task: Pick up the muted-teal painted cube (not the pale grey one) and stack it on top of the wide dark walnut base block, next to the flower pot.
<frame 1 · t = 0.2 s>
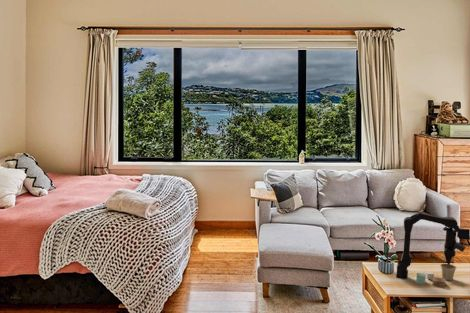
hand: (448, 261, 273), 14 cm above the table, fingers open, 9 cm apart
teal block: (420, 282, 276), on the table
flower pot: (447, 279, 282), on the table
walnut base block: (438, 284, 273), on the table
grey block: (429, 278, 282), on the table
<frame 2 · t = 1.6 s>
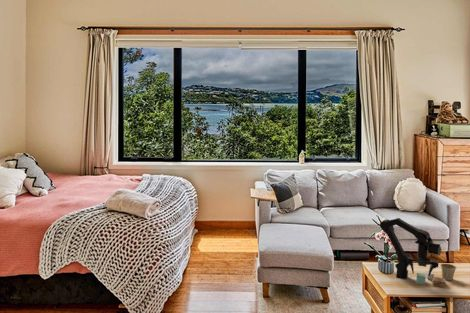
hand: (420, 274, 275), 5 cm above the table, fingers open, 9 cm apart
nothing on the table moved.
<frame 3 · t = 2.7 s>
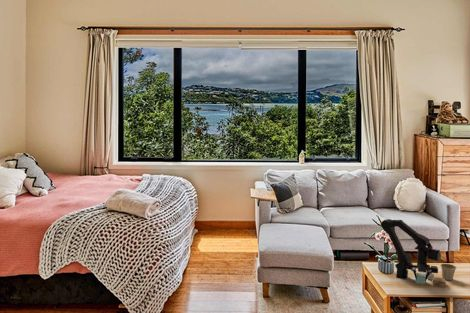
hand: (420, 280, 275), 1 cm above the table, fingers closed on teal block, 5 cm apart
teal block: (420, 282, 276), on the table, touching gripper
everything else where it was.
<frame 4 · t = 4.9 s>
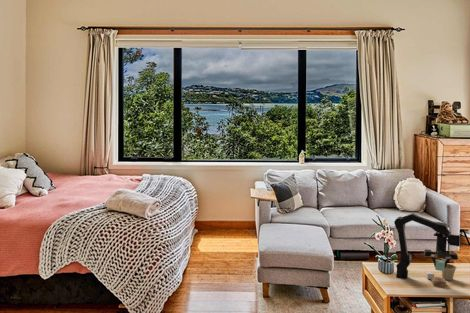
hand: (439, 267, 271), 11 cm above the table, fingers closed on teal block, 5 cm apart
teal block: (439, 269, 271), point 10 cm above the table, touching gripper
everything else where it was.
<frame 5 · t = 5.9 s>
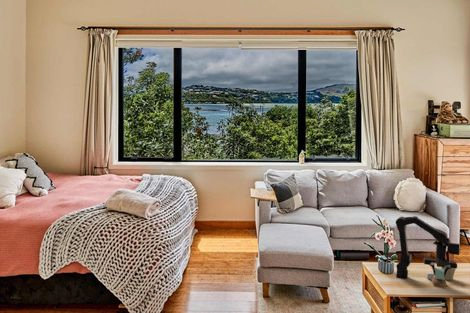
hand: (439, 275, 272), 6 cm above the table, fingers closed on teal block, 5 cm apart
teal block: (439, 277, 272), point 5 cm above the table, touching gripper
everything else where it was.
when the fingers open (5 cm above the table, at t = 6.6 s): teal block drops 1 cm, resting on walnut base block.
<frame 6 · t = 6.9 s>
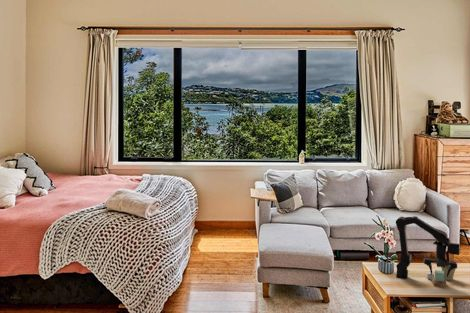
hand: (439, 275, 272), 5 cm above the table, fingers open, 8 cm apart
teal block: (439, 279, 272), point 3 cm above the table, touching walnut base block
walnut base block: (438, 284, 273), on the table, touching teal block
everything else where it was.
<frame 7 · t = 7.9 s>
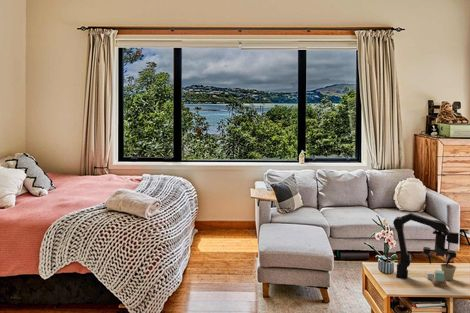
hand: (438, 265, 273), 12 cm above the table, fingers open, 9 cm apart
nothing on the table moved.
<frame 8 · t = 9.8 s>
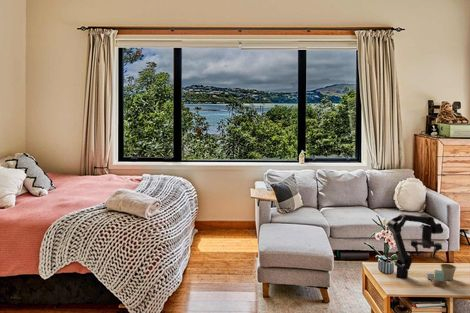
hand: (425, 257, 287), 12 cm above the table, fingers open, 9 cm apart
nothing on the table moved.
at the end: teal block 0.3 cm off-centre on the walnut base block, point 3.5 cm above the walnut base block's base; teal block tilted 0°; the gripper is holding nothing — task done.
